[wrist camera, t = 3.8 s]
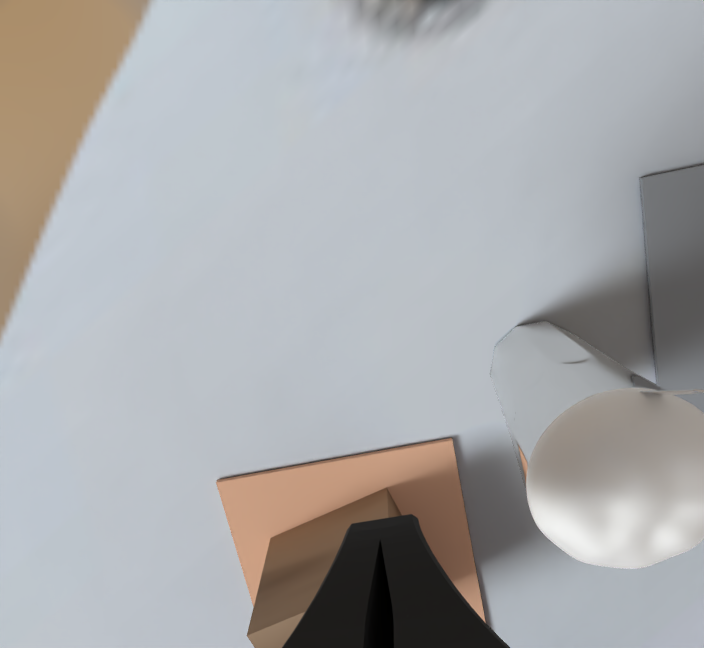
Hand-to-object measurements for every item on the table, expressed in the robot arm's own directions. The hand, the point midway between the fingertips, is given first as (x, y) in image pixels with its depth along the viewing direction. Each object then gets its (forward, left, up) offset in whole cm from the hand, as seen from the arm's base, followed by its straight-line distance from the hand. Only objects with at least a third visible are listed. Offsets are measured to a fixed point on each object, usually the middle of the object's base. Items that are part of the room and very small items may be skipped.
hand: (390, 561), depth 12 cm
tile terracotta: (-7, +2, -10) cm, 13 cm away
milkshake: (0, -6, -11) cm, 12 cm away
